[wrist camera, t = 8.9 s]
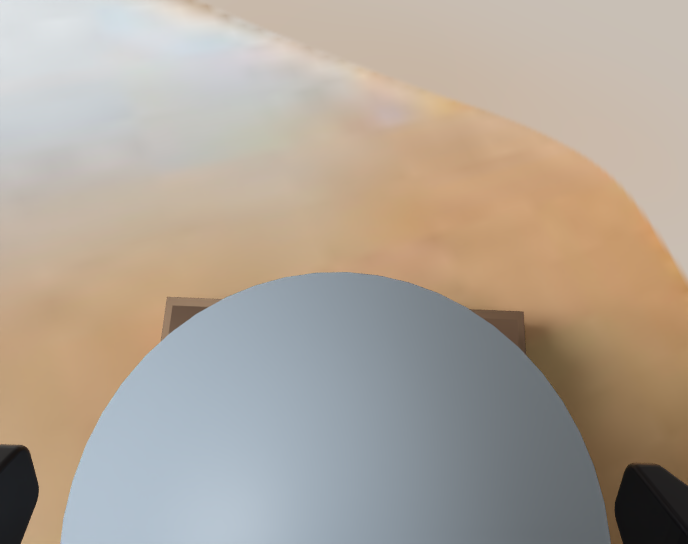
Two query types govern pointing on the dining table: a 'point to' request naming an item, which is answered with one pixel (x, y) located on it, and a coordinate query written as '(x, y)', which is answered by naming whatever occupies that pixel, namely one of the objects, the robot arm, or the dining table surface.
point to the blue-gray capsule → (336, 429)
